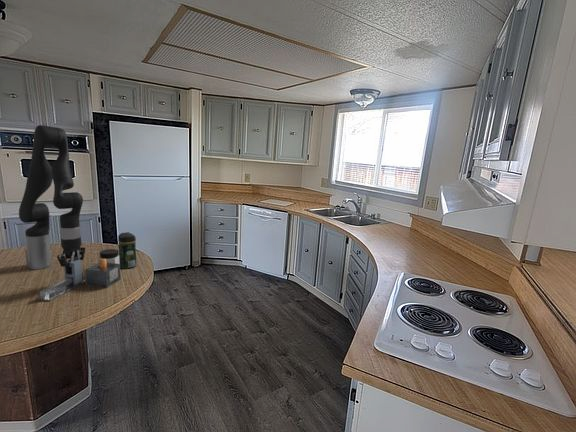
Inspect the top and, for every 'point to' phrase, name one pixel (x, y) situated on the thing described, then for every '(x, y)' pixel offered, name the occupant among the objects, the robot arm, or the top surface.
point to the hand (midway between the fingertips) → (73, 272)
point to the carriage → (75, 271)
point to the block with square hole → (102, 275)
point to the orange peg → (103, 263)
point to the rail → (58, 289)
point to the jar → (110, 256)
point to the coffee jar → (127, 250)
